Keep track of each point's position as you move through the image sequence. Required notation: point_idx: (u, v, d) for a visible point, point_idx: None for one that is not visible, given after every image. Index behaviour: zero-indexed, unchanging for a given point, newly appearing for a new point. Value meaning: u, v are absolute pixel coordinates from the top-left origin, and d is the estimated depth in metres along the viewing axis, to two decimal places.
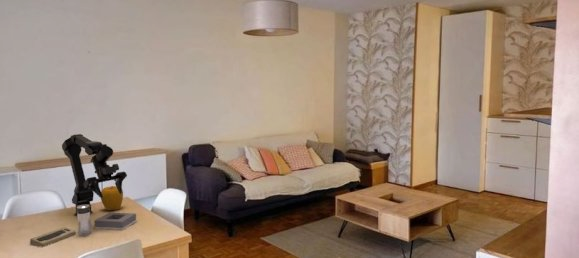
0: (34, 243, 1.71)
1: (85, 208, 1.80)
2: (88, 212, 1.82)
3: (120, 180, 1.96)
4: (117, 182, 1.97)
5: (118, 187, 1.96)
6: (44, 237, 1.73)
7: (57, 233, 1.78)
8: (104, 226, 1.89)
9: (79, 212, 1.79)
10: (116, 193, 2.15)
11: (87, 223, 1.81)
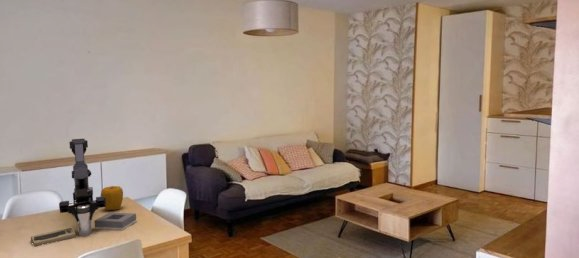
0: (32, 241, 1.73)
1: (85, 208, 1.80)
2: (88, 212, 1.82)
3: (92, 205, 1.85)
4: (91, 208, 1.86)
5: None
6: (41, 236, 1.74)
7: (56, 234, 1.77)
8: (104, 226, 1.89)
9: (79, 212, 1.79)
10: (116, 193, 2.15)
11: (87, 223, 1.81)
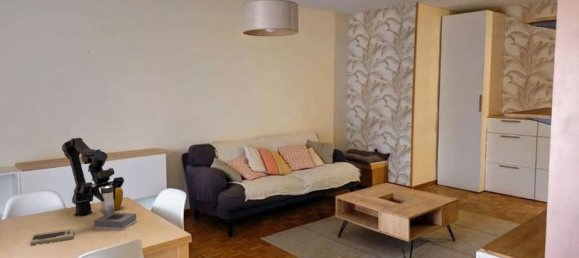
0: None
1: (110, 187, 1.88)
2: (112, 191, 1.90)
3: (113, 185, 1.93)
4: None
5: None
6: (41, 236, 1.75)
7: (55, 234, 1.77)
8: (104, 226, 1.89)
9: (105, 192, 1.87)
10: (116, 193, 2.15)
11: (112, 202, 1.90)
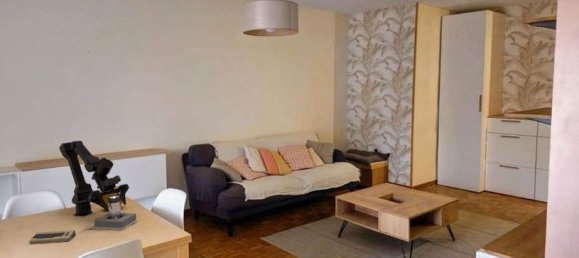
0: None
1: (118, 197, 1.93)
2: (119, 201, 1.94)
3: (123, 192, 1.98)
4: (120, 194, 1.99)
5: (122, 199, 1.98)
6: (41, 235, 1.76)
7: (54, 235, 1.76)
8: (104, 226, 1.89)
9: (113, 201, 1.91)
10: (116, 193, 2.15)
11: (119, 211, 1.94)
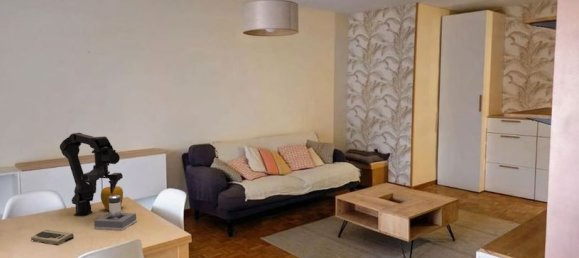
0: None
1: (118, 197, 1.93)
2: (120, 201, 1.94)
3: (110, 183, 1.99)
4: None
5: None
6: (43, 233, 1.78)
7: (51, 235, 1.76)
8: (104, 226, 1.89)
9: (113, 202, 1.91)
10: (116, 193, 2.15)
11: (120, 211, 1.94)
